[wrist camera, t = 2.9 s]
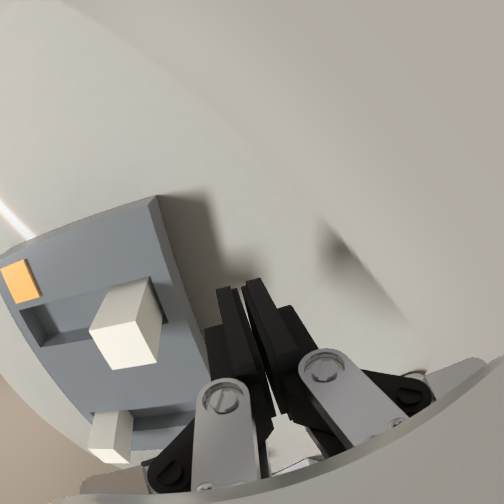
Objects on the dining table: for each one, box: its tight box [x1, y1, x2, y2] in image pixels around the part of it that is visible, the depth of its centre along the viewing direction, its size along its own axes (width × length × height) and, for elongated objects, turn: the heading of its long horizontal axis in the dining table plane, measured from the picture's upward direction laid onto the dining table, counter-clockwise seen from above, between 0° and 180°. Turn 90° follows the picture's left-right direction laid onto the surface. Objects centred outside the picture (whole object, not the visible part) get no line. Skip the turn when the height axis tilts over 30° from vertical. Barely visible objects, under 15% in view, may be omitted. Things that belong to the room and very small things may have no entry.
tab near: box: [89, 276, 164, 370], centre depth 13 cm, size 2×2×5 cm
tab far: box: [87, 410, 134, 463], centre depth 16 cm, size 2×2×5 cm
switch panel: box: [0, 195, 211, 451], centre depth 17 cm, size 12×20×3 cm, turn 11°
